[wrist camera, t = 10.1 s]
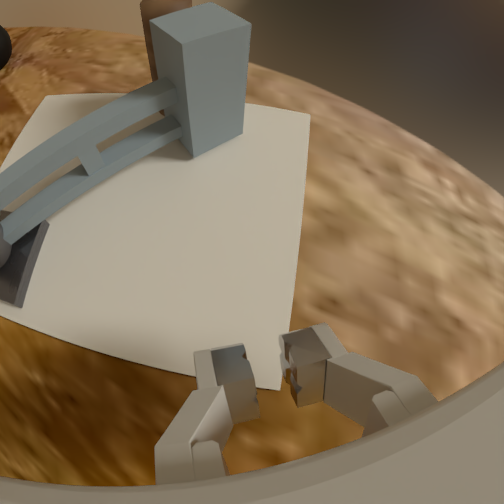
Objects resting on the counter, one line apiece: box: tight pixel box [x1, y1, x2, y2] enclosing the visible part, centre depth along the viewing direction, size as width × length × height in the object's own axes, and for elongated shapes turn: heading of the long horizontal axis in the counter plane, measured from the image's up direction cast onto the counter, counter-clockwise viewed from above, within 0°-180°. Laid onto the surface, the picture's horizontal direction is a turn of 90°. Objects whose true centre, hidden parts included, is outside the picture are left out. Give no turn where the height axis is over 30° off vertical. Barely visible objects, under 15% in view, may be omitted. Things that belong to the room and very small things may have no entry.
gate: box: [0, 2, 251, 268], centre depth 15 cm, size 21×4×9 cm, turn 127°
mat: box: [0, 93, 310, 390], centre depth 20 cm, size 25×20×1 cm
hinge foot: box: [0, 210, 50, 308], centre depth 17 cm, size 6×6×1 cm
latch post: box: [140, 0, 192, 116], centre depth 19 cm, size 3×3×10 cm
